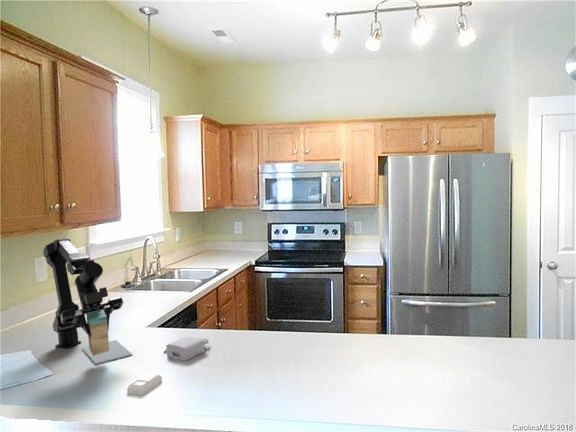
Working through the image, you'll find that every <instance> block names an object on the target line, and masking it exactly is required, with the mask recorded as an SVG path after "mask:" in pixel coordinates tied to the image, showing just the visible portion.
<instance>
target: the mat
mask: <svg viewBox="0 0 576 432" xmlns="http://www.w3.org/2000/svg"><path fill="white" fill-rule="evenodd" d="M81 349H82V351H83V352H84V353H85V354H86V356H87V357H88V359H90V361H91V363H93V364H94V365H95V366H96V365H97V366H98V365H101V364H104V363H108V362H113V361H116V360H120V359H123V358H127V357H132V356H133V353H132V352H130V351H129V350H128V349H127V348H126V347H125V346H123V345H122V344H121V343H120V342H119V341H118V340H111V341H109V351H108V352H105V353H101V354H98V355H95V356H93V355H92V353H91V351H90V349H89V345H88V346H85V347H82V348H81Z"/></svg>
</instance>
